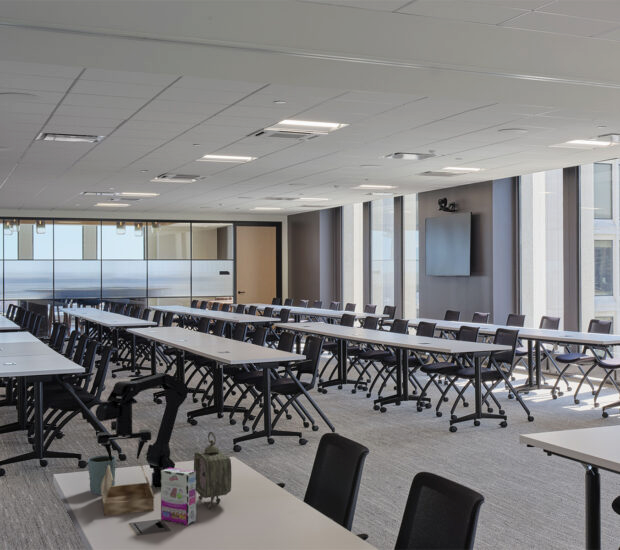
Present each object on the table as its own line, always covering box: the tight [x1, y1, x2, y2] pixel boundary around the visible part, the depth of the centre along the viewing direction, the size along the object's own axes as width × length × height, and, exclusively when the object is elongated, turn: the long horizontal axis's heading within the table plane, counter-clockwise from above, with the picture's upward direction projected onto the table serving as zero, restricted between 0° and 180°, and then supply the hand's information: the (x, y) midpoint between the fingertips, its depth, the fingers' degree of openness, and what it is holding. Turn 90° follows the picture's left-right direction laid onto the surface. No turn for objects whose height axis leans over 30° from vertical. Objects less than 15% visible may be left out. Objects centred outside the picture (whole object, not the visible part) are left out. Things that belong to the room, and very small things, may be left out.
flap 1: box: [101, 465, 113, 504], centre depth 255 cm, size 8×19×1 cm
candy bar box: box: [160, 467, 197, 526], centre depth 240 cm, size 11×5×16 cm, turn 62°
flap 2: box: [139, 462, 156, 499], centre depth 260 cm, size 8×19×1 cm
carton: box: [101, 482, 155, 516], centre depth 257 cm, size 16×20×4 cm
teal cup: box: [87, 454, 117, 495], centre depth 273 cm, size 10×10×12 cm
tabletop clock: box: [193, 431, 232, 510], centre depth 258 cm, size 14×9×25 cm, turn 27°
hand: (124, 460), depth 266 cm, fingers open, 9 cm apart
